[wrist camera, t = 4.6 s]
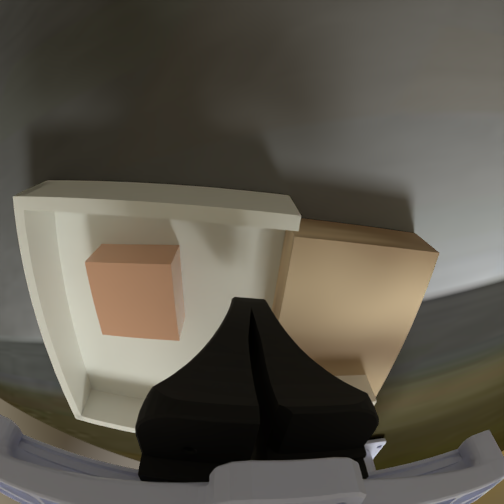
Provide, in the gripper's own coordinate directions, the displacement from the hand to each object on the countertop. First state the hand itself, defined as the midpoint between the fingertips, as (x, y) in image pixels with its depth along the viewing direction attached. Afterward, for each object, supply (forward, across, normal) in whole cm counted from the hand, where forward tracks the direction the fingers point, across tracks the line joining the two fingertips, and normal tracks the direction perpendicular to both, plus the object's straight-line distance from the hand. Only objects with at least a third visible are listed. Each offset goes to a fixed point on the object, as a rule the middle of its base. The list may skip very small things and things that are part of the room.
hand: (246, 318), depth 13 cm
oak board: (+3, -5, +3) cm, 7 cm away
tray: (+3, +4, +3) cm, 6 cm away
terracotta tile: (+1, +5, 0) cm, 5 cm away
